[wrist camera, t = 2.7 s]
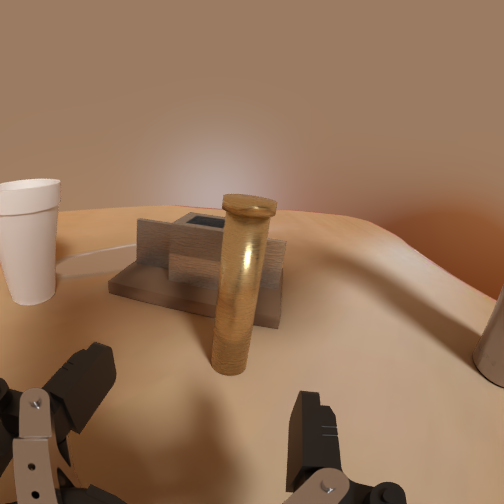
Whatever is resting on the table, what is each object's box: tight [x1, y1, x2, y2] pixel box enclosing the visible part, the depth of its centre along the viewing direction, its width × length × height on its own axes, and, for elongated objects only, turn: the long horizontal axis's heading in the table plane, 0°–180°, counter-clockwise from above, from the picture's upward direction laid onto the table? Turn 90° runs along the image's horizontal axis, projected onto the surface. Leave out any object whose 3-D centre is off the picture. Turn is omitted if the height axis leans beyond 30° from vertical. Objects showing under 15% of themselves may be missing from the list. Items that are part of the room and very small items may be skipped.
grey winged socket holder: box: [137, 212, 286, 290], centre depth 36 cm, size 19×7×7 cm, turn 82°
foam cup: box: [0, 179, 61, 306], centre depth 25 cm, size 10×9×13 cm
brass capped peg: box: [211, 194, 277, 376], centre depth 21 cm, size 4×4×14 cm
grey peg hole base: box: [108, 260, 283, 329], centre depth 37 cm, size 20×14×2 cm
